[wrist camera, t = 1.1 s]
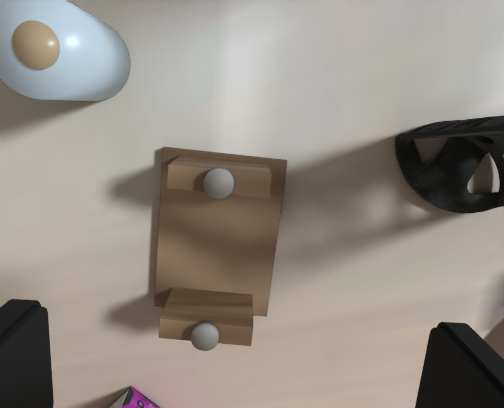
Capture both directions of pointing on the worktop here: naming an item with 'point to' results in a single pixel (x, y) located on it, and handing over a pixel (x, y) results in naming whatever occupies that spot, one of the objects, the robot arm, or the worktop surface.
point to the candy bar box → (133, 400)
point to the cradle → (216, 244)
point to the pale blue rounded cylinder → (60, 52)
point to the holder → (454, 163)
